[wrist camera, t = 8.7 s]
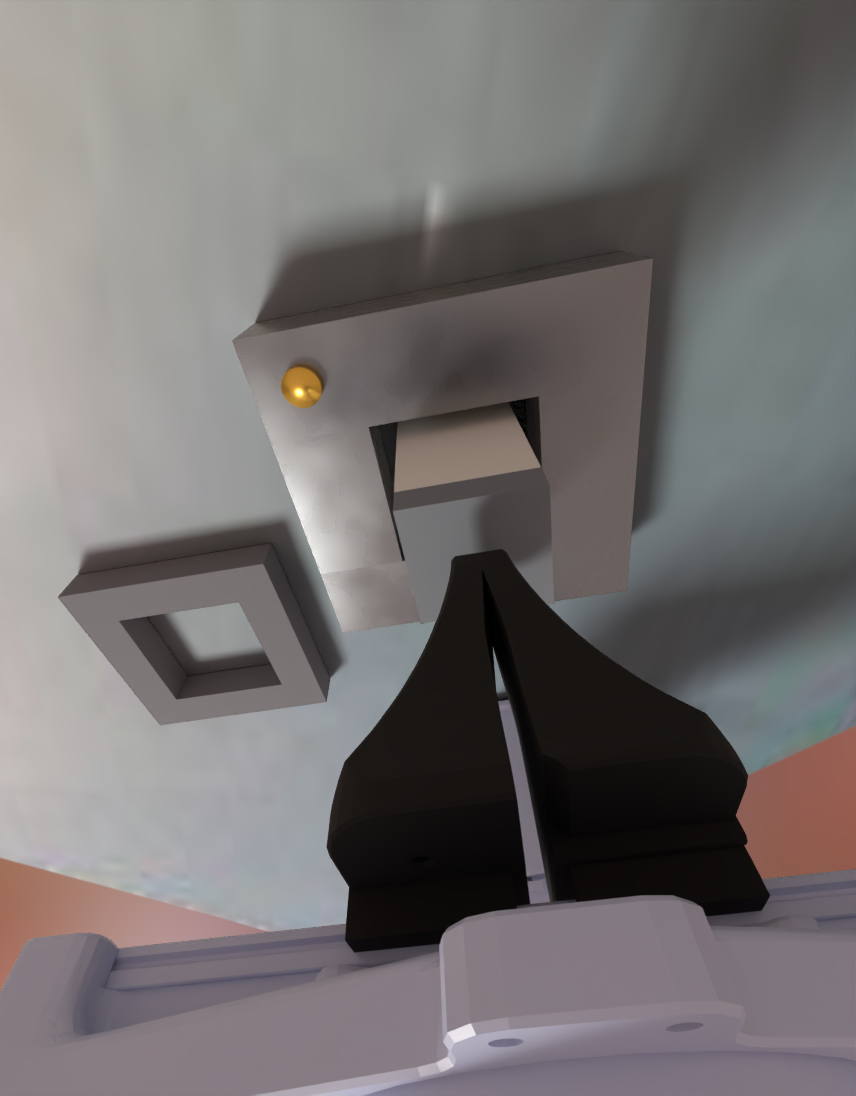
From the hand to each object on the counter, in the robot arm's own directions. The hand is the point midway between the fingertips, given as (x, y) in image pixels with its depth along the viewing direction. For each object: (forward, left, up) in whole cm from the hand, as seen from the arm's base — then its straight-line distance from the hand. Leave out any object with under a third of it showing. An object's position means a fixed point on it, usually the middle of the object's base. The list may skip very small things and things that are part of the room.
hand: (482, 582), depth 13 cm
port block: (0, 0, -8) cm, 8 cm away
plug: (0, 0, -8) cm, 8 cm away
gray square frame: (-7, +13, -8) cm, 17 cm away
